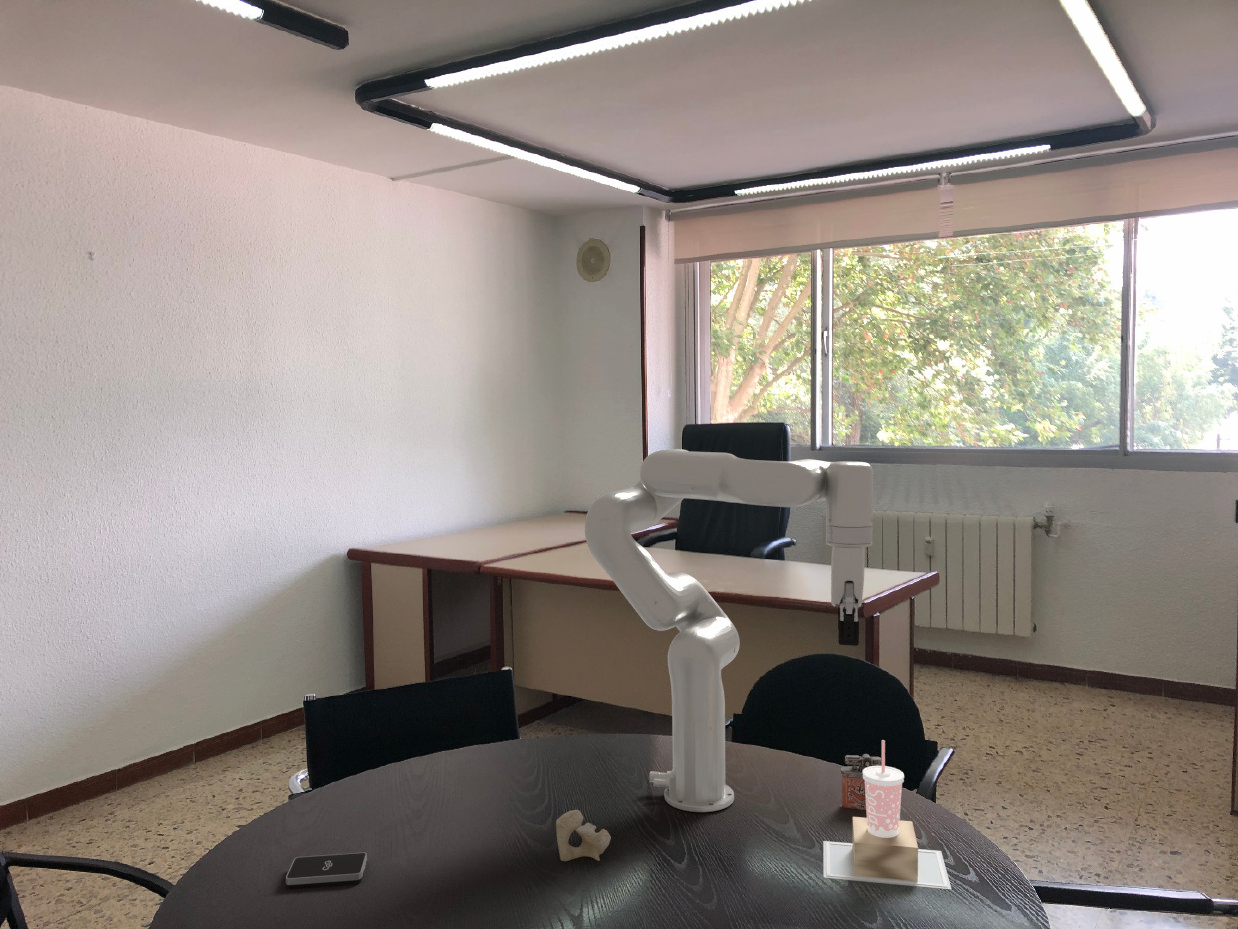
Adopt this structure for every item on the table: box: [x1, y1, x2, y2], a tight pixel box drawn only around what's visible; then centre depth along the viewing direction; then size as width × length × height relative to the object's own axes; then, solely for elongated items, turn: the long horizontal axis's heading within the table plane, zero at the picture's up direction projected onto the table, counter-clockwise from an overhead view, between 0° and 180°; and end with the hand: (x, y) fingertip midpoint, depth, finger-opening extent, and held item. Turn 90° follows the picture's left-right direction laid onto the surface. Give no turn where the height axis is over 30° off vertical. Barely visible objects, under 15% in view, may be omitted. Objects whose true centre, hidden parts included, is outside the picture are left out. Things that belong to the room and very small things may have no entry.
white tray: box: [822, 840, 952, 891], centre depth 142 cm, size 18×12×1 cm, turn 78°
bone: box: [555, 809, 612, 862], centre depth 147 cm, size 9×6×10 cm
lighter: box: [840, 753, 882, 811], centre depth 162 cm, size 8×3×10 cm, turn 84°
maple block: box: [852, 816, 919, 881], centre depth 142 cm, size 9×9×5 cm
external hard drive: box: [285, 852, 368, 890], centre depth 142 cm, size 7×11×2 cm, turn 97°
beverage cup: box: [863, 739, 905, 838], centre depth 141 cm, size 6×6×14 cm
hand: (848, 637), depth 155 cm, fingers open, 9 cm apart
